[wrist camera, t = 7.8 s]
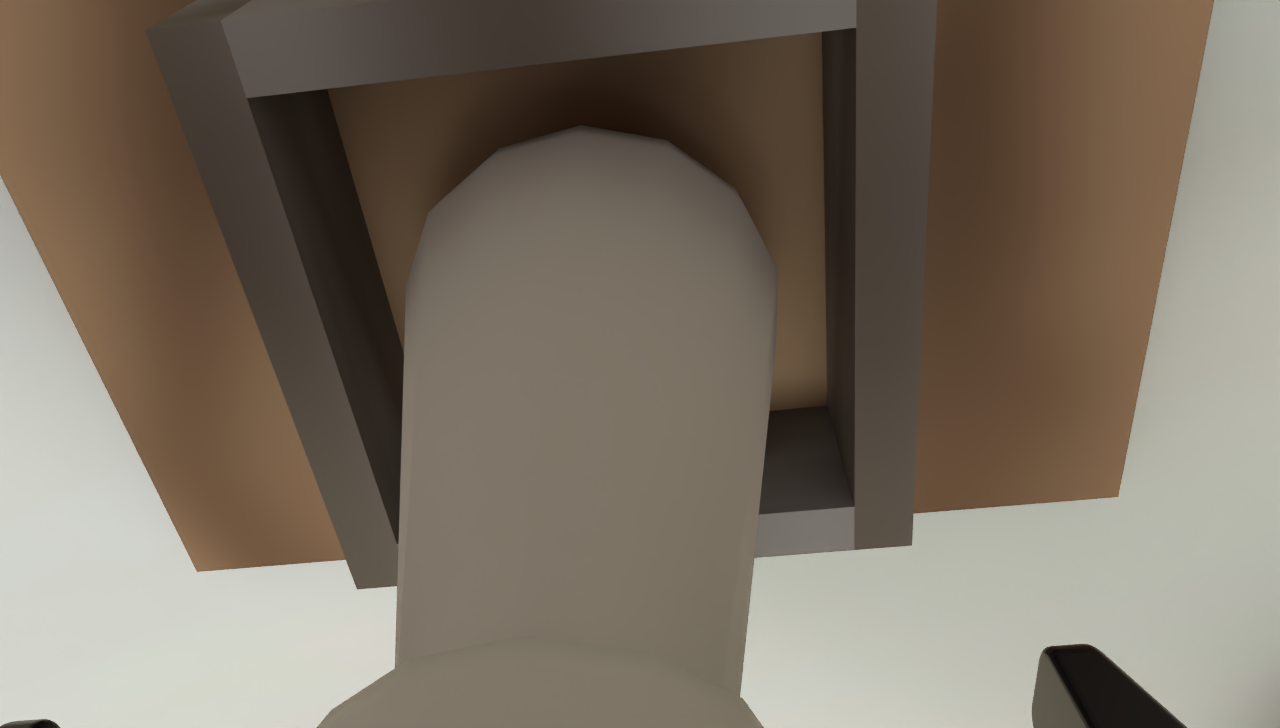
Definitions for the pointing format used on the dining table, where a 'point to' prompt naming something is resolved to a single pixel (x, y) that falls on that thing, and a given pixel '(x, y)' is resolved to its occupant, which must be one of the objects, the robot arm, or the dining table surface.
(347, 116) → the brown tray
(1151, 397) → the dining table surface
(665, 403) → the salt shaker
